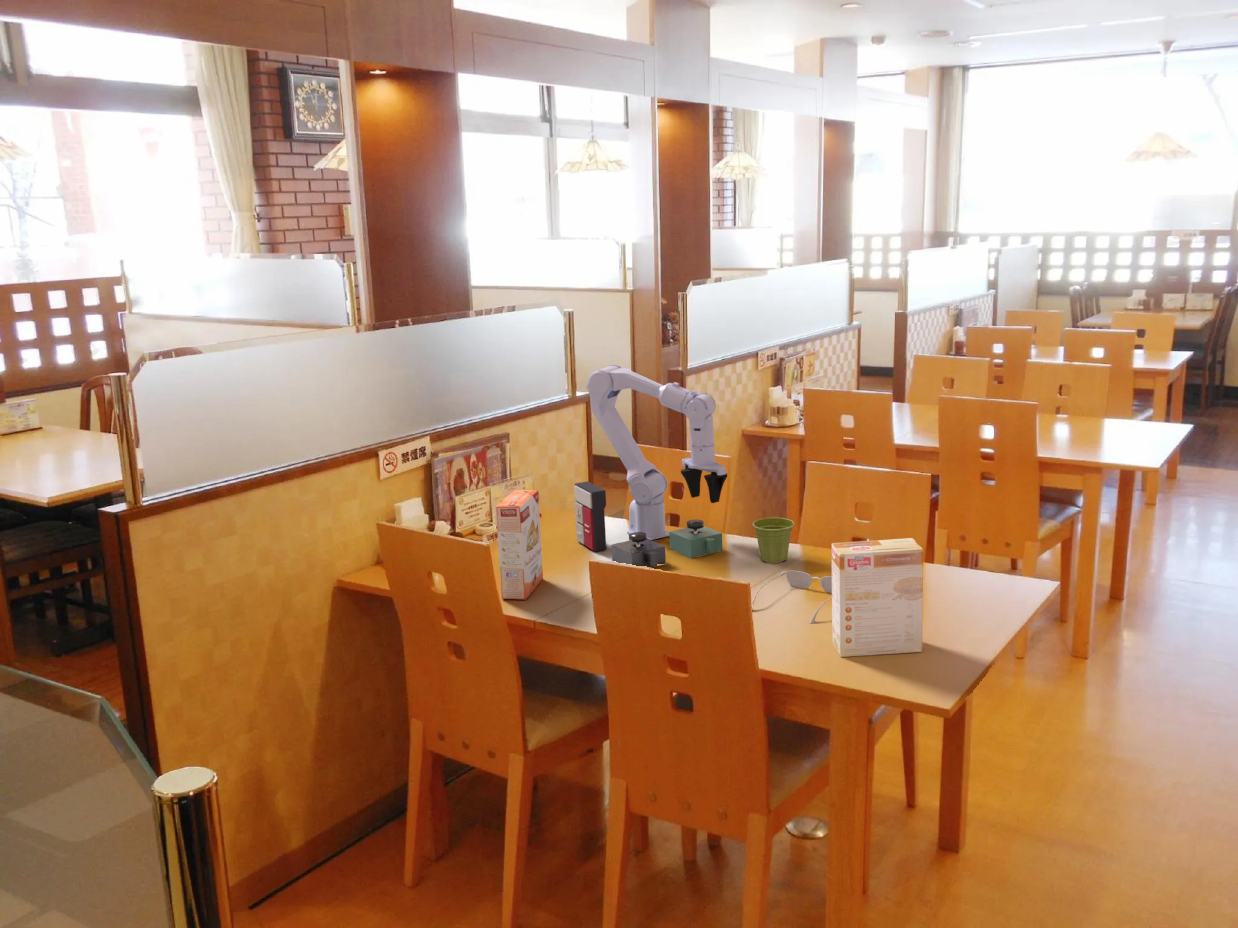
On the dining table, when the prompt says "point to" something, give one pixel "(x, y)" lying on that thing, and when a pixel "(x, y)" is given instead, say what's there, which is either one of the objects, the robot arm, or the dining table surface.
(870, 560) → the coffeecake box
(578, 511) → the red grey tall block
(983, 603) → the dining table surface
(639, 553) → the charcoal press
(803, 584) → the eyeglasses
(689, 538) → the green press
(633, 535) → the charcoal plunger
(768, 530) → the plant pot
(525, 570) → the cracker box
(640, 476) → the robot arm
